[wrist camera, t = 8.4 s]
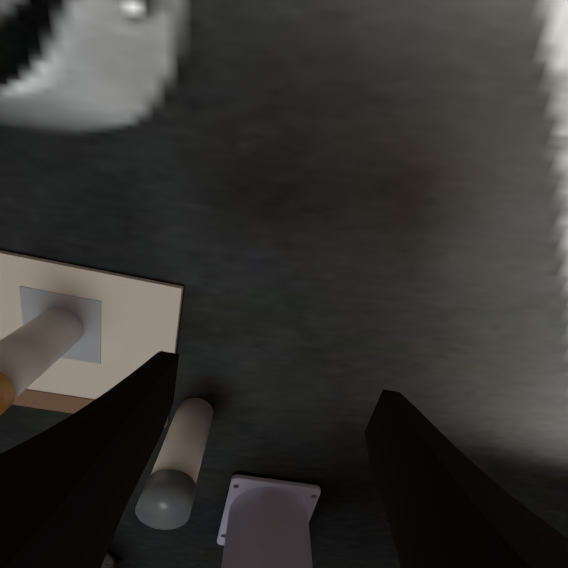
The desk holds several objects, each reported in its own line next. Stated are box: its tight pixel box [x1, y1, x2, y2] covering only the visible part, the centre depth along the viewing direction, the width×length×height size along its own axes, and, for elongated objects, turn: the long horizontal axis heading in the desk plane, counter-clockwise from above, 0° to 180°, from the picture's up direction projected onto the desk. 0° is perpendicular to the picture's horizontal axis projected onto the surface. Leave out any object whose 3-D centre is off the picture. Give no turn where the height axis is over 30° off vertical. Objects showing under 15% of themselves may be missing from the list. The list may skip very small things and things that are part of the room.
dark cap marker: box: [135, 398, 213, 530], centre depth 21 cm, size 3×3×8 cm
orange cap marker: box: [0, 308, 84, 415], centre depth 17 cm, size 3×3×8 cm
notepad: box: [0, 250, 184, 427], centre depth 21 cm, size 12×13×1 cm
